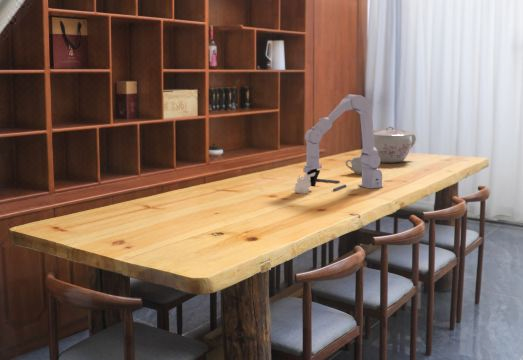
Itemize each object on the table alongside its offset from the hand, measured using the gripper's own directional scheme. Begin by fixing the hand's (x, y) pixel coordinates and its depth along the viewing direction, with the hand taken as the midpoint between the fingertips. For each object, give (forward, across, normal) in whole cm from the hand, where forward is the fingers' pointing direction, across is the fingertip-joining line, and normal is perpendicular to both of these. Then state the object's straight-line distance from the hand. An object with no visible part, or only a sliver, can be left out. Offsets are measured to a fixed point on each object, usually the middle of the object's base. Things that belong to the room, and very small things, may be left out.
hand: (312, 186), depth 299 cm
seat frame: (+2, -13, 0) cm, 13 cm away
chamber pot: (+2, -103, -1) cm, 103 cm away
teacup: (+2, -53, 0) cm, 53 cm away
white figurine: (+2, +6, 0) cm, 6 cm away
